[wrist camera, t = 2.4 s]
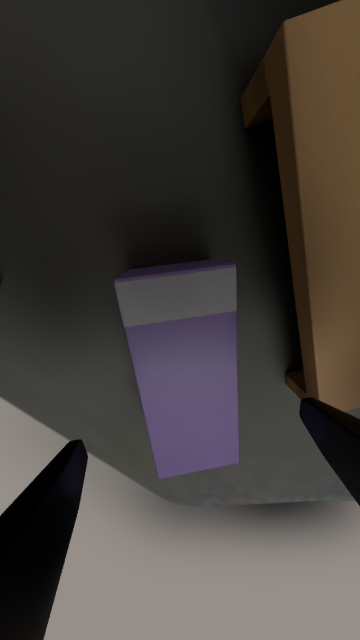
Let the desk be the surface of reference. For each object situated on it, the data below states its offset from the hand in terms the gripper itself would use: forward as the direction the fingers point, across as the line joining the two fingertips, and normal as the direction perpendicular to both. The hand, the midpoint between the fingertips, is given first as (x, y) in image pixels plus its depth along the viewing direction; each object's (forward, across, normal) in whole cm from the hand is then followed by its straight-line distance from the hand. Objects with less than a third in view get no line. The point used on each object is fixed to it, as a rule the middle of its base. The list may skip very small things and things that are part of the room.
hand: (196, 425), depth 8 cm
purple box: (+6, 0, 0) cm, 6 cm away
